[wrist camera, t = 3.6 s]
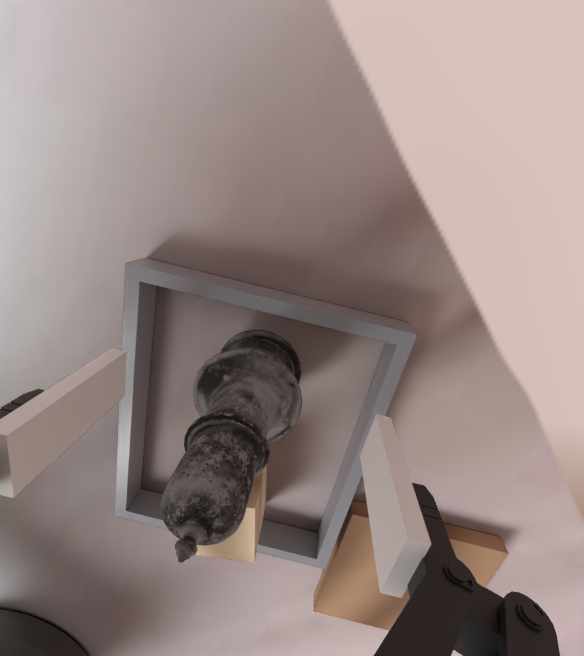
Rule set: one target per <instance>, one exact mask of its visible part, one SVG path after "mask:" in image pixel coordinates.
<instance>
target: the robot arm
mask: <svg viewBox="0 0 584 656" xmlns="http://www.w3.org/2000/svg"><path fill="white" fill-rule="evenodd" d="M126 355H127V351H123V350H119V349H115V348H111V349H109V350H108V351H106V352H105V353H103V354H102V355H100V356H99V357H97V358H95V359H94V360H92V361H91V362H89V363H88V364H86V365H84V366H83V367H81V368H80V369H78V370H77V371H75V372H73V373H72V374H70V375H69V376H67V377H66V378H64V379H63V380H61V381H59V382H58V383H56V384H55V385H53V386H52V387H50V388H48V389H47V390H41V389H37V390H34V391H31V392H28V393H26V394H23V395H21V396H20V397H18V398H16V399H15V400H13V401H11V403H8V404H6V405H5V406H3V407H1V409H0V495H2V496H6V497H10V498H15V497H16V496H17V495H18V494H19V493H20V492H21V491H22V490H23V489H24V488H26V487H27V486H28V485H29V484H30V483H31V482H32V481H33V480H34V479H35V478H36V477H37V476H39V475H40V474H41V473H42V472H43V471H44V470H45V469H46V468H47V467H48V466H49V465H51V464H52V463H53V462H54V461H55V460H56V459H57V458H58V457H59V456H60V455H61V454H62V453H64V452H65V451H66V450H67V449H68V448H69V447H70V446H71V445H72V444H73V443H74V442H75V441H77V440H78V439H79V438H80V437H81V436H82V435H83V434H84V433H85V432H86V431H87V430H89V429H90V428H91V427H92V426H93V425H94V424H95V423H96V422H97V421H98V420H99V419H100V418H102V417H103V416H104V415H105V414H106V413H107V412H108V411H109V410H110V409H111V408H112V407H113V406H115V405H116V404H117V403H118V402H119V401H120V400H121V399H122V398H123V397H124V396H125V376H126ZM360 459H361V466H362V473H363V480H364V487H365V494H366V501H367V507H368V514H369V521H370V528H371V535H372V542H373V549H374V556H375V563H376V569H377V576H378V583H379V590H380V593H383V594H387V595H391V596H395V597H399V598H402V596H403V595H404V593H405V591H406V589H407V587H408V591H409V596H410V599H409V601H408V602H407V604H406V605H405V607H404V609H403V610H402V612H401V613H400V615H399V617H398V618H397V620H396V621H395V623H394V624H393V626H392V628H391V629H390V631H389V632H388V634H387V636H386V637H385V639H384V640H383V642H382V643H381V645H380V647H379V648H378V650H377V651H376V653H375V655H374V656H451V654H452V651H453V649H454V650H455V651H457V652H458V653H460V654H461V655H463V656H560V653H559V647H558V641H557V635H556V632H555V629H554V626H553V624H552V622H551V620H550V619H549V617H548V616H547V614H546V613H545V612H544V611H543V610H542V609H541V608H540V606H539V605H538V604H537V603H535V602H534V601H533V600H531V599H530V598H529V597H527V596H525V595H523V594H521V593H519V592H510V593H508V594H507V595H506V596H505V597H504V598H502V597H501V596H499V595H497V594H495V593H493V592H492V591H490V590H488V589H486V588H485V587H483V586H481V585H480V584H478V583H477V582H476V579H475V577H474V576H473V574H472V572H471V571H470V569H469V568H468V567H467V566H466V565H465V564H464V563H463V562H462V561H460V560H459V559H457V558H456V555H455V553H454V550H453V547H452V545H451V542H450V539H449V537H448V534H447V532H446V529H445V526H444V524H443V521H441V519H442V518H441V516H440V513H439V511H438V508H437V505H436V503H435V500H434V497H433V496H432V495H431V493H430V492H429V491H428V490H427V488H426V487H425V486H423V485H419V484H415V483H412V482H411V479H410V476H409V473H408V470H407V466H406V463H405V460H404V457H403V454H402V451H401V448H400V445H399V442H398V438H397V435H396V432H395V429H394V426H393V423H392V420H391V417H387V416H383V415H379V414H376V415H375V418H374V421H373V423H372V426H371V428H370V431H369V434H368V436H367V439H366V441H365V444H364V447H363V449H362V452H361V454H360ZM0 656H87V655H86V653H85V652H84V651H83V649H82V648H81V647H80V646H79V645H78V644H77V643H76V642H75V641H74V640H73V639H71V638H70V637H69V636H68V635H66V634H65V633H63V632H62V631H60V630H59V629H57V628H55V627H54V626H52V625H50V624H48V623H46V622H44V621H42V620H39V619H37V618H34V617H32V616H29V615H26V614H22V613H18V612H14V611H9V610H1V609H0Z"/></svg>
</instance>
